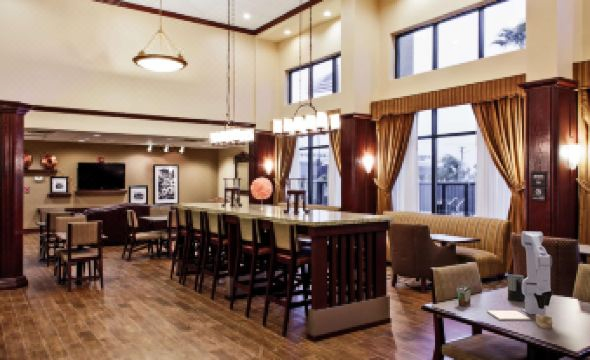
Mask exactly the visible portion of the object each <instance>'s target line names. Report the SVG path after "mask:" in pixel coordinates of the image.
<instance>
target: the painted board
mask: <svg viewBox="0 0 590 360" xmlns="http://www.w3.org/2000/svg"><path fill="white" fill-rule="evenodd" d="M486 313H487V314H489V315H491V316H492V317H494V318H495V319H497V320H499V321H502V322H503V321H506V322H507V321H508V322H509V321H513V322H515V321H517V322H519V321H522V322H523V321H531V320H532V319H531V317H529V316H527V315H525V314H524V313H521V312H519V311H518V310H486Z"/></svg>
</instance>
